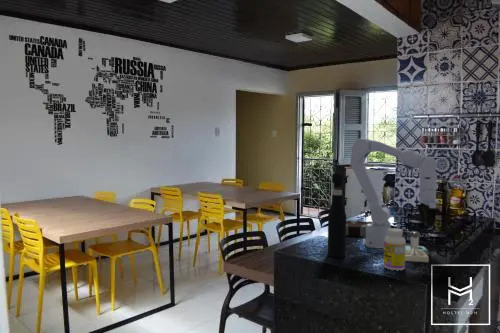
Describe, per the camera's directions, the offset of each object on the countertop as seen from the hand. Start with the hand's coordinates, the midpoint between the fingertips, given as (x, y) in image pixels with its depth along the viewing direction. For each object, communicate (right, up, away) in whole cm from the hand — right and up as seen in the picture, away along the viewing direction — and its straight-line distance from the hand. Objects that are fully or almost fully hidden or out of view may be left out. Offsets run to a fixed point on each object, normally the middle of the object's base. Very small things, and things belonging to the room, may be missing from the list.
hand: (426, 224), depth 149 cm
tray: (-9, -11, -9) cm, 17 cm away
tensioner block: (-5, -11, -2) cm, 12 cm away
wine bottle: (-36, -11, -5) cm, 38 cm away
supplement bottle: (-20, -12, -20) cm, 31 cm away
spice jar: (-9, -10, -9) cm, 16 cm away
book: (-16, -9, +32) cm, 36 cm away
